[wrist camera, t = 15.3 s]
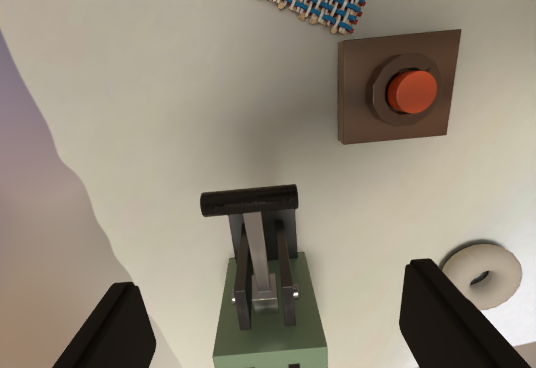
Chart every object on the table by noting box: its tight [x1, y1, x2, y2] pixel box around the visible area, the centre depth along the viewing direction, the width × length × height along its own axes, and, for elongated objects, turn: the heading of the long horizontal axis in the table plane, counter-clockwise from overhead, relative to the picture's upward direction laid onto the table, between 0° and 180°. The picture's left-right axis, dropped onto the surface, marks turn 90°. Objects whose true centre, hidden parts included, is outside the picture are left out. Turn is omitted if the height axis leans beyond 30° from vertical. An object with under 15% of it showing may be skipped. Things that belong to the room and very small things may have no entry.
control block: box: [338, 29, 461, 145], centre depth 28 cm, size 10×11×4 cm
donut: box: [442, 244, 522, 310], centre depth 37 cm, size 10×4×10 cm
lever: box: [200, 184, 298, 315], centre depth 22 cm, size 14×6×2 cm, turn 4°
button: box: [387, 71, 437, 113], centre depth 26 cm, size 4×4×2 cm
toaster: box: [213, 252, 328, 368], centre depth 33 cm, size 11×10×14 cm
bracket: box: [228, 209, 299, 330], centre depth 30 cm, size 8×8×13 cm
